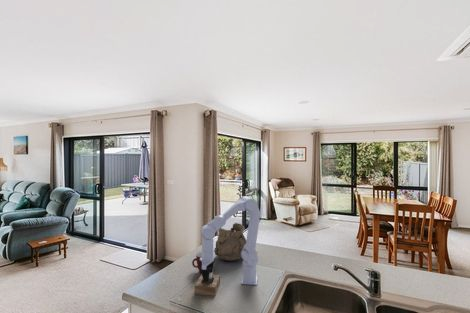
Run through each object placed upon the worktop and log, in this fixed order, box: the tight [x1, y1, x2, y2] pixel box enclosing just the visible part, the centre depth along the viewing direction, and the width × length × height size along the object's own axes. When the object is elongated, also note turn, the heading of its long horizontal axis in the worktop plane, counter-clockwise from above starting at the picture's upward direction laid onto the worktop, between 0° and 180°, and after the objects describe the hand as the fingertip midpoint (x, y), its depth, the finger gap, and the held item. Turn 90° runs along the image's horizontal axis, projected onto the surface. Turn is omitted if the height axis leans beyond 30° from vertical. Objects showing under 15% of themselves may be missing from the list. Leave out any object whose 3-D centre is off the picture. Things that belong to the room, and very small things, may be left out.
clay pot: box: [213, 222, 247, 262], centre depth 153 cm, size 25×24×22 cm
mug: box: [191, 251, 202, 274], centre depth 133 cm, size 10×8×10 cm
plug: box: [203, 272, 214, 284], centre depth 116 cm, size 4×4×7 cm
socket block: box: [194, 273, 221, 297], centre depth 116 cm, size 11×10×4 cm
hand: (207, 277), depth 116 cm, fingers open, 7 cm apart
